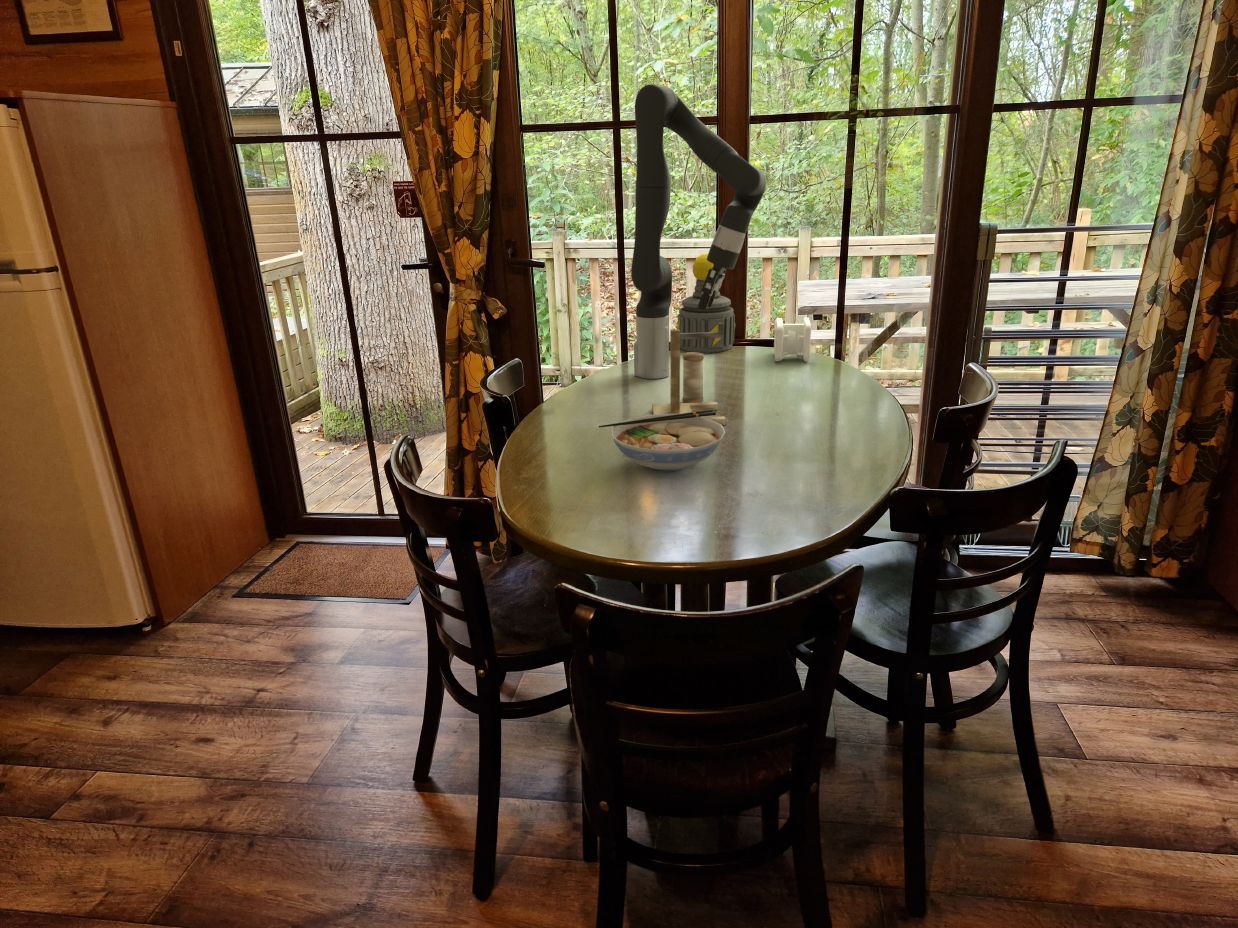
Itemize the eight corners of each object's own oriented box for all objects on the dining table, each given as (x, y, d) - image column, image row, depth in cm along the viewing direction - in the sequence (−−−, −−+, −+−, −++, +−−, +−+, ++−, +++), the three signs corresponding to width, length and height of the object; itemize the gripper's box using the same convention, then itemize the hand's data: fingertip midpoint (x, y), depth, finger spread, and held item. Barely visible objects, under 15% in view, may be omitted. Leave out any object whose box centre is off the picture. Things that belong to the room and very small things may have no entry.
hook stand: (716, 407, 194) (718, 318, 186) (725, 425, 181) (728, 329, 173) (652, 410, 194) (651, 320, 186) (656, 427, 181) (655, 331, 173)
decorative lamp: (721, 339, 269) (723, 249, 259) (743, 351, 252) (746, 255, 242) (669, 344, 265) (669, 252, 254) (688, 355, 248) (688, 258, 237)
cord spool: (679, 402, 200) (679, 355, 195) (687, 397, 204) (687, 351, 200) (698, 404, 197) (698, 357, 193) (706, 399, 202) (706, 353, 197)
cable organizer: (809, 364, 233) (812, 325, 229) (773, 364, 235) (775, 325, 231) (806, 353, 247) (809, 316, 243) (772, 352, 249) (774, 316, 245)
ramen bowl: (623, 494, 145) (622, 452, 142) (593, 453, 165) (592, 416, 162) (748, 477, 151) (750, 437, 148) (705, 440, 171) (705, 404, 168)
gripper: (716, 242, 208) (696, 300, 213) (707, 242, 194) (685, 305, 200) (743, 251, 206) (721, 310, 212) (736, 252, 193) (713, 315, 199)
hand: (704, 307), depth 206 cm, fingers open, 8 cm apart
